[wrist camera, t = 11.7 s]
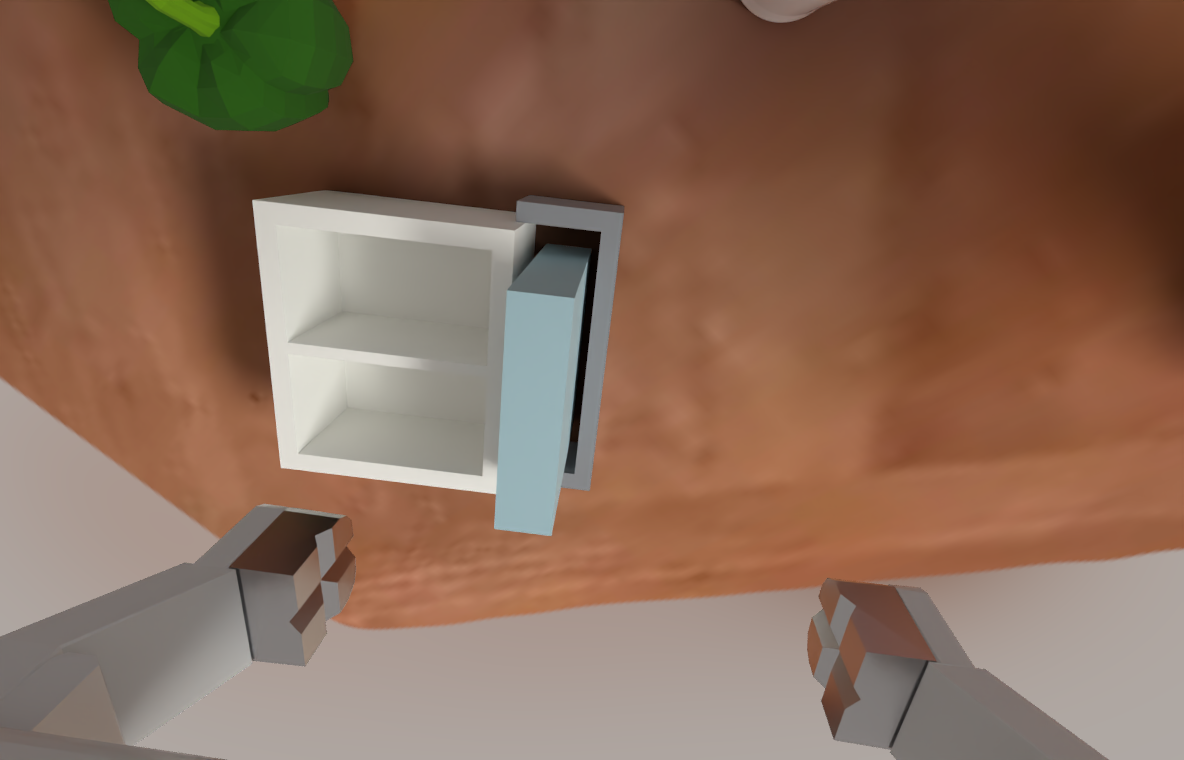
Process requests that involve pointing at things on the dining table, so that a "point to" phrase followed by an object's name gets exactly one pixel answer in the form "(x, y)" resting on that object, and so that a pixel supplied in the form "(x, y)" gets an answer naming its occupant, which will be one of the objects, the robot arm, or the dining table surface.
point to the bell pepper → (239, 57)
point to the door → (539, 386)
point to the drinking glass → (784, 9)
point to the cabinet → (409, 331)
